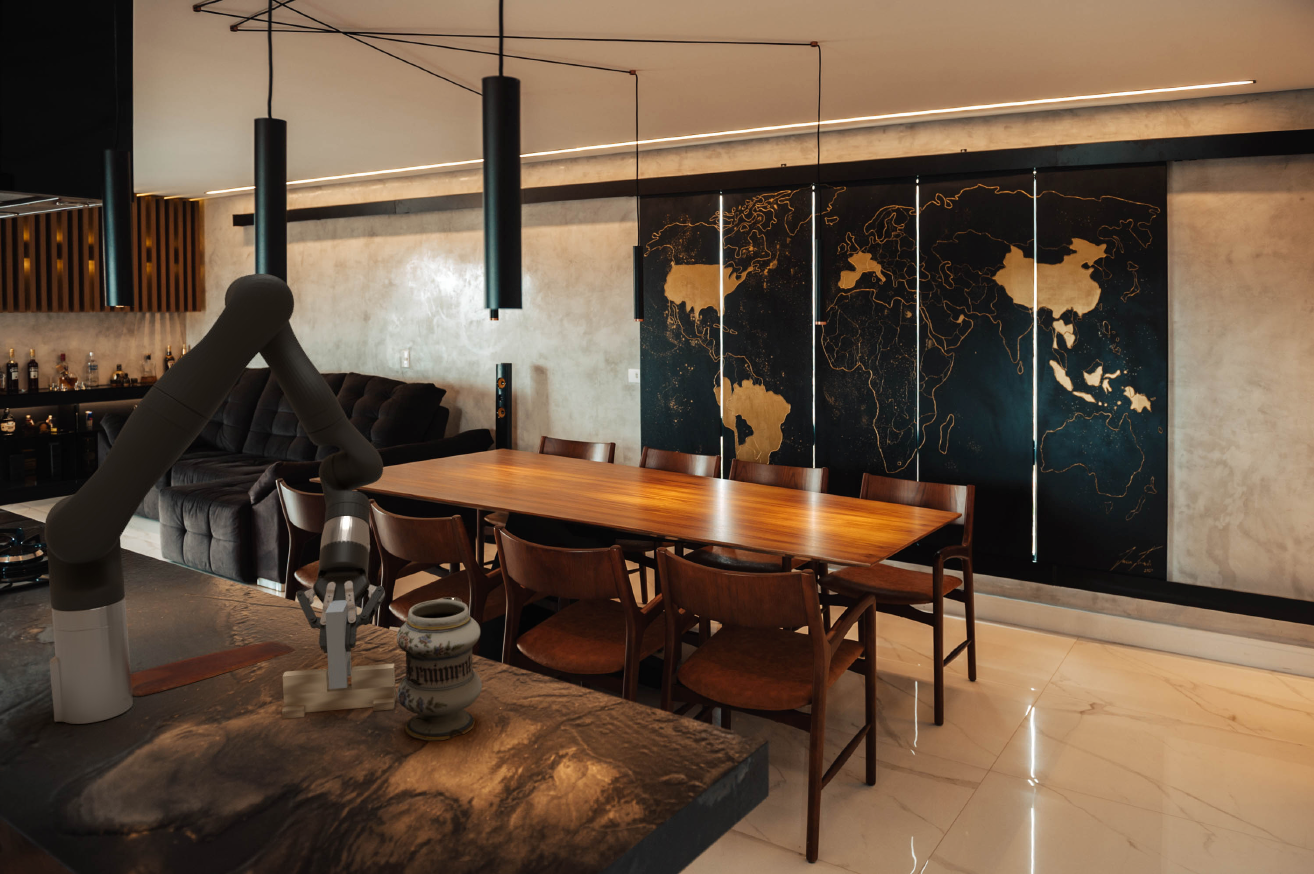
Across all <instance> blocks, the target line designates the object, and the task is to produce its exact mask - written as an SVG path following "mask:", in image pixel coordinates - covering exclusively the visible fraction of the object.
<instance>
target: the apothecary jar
mask: <svg viewBox="0 0 1314 874" xmlns="http://www.w3.org/2000/svg"><path fill="white" fill-rule="evenodd" d="M469 611H470V610H469V606H468V605H467V604H466V603H465V602H460V601H456V600H449V599H442V600H437V599H433V600H426V601H423V602H419V603H417V604H414V605H413V606H412V607H410V608H409V610H408V613H407V619H406V622H404V623H403V624H402V625H401V626H400V628H399V629H398V631H397V632H396V633H397V634H396V642H397V644H398V647H399V648H400V649H401V650H402V651H403V652H404V653H405V667H406V668H405V675H404V677H403V678H402V679H401V681H400V682H399V684H398V686H397V689H396V697H397V700H398V702H399V704H400V705H401V706H402V707H403V708H404V709H406V710H407V711H409V712H412V713H413V714H416V715H414V716H412V718H411V719H409V720H408V722H407V723H406V725H405V731H406V733H407V734H408V735H409V736H411V738H414V739H418V740H422V741H427V742H429V741H433V742H435V741H437V742H438V741H446V740H449V739H452V738H454V737H456V736H459V735H460V736H461V735H464V734H467V733H468V732H469V731H471V730H472V729H473V728H474V725H475V717H474V716H473V715H472V714H471V713H470V712H468V711H466V710H465V709H467V708H469V707H470V706H471V705H472V704H473V703H475V701H477V699H479V696H480V695H481V692H482V687H483V684H482V679H481V677H480V676H479V674H478V673H477V672H476V671H475V670H474V665H473V647H474V645H476V644H477V643H478V642H479V639H480V636H481V627H480V625H479V623H478V622H477V621H476V620H475V619H474V618H473V617H471V616H470V612H469Z"/></svg>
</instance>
